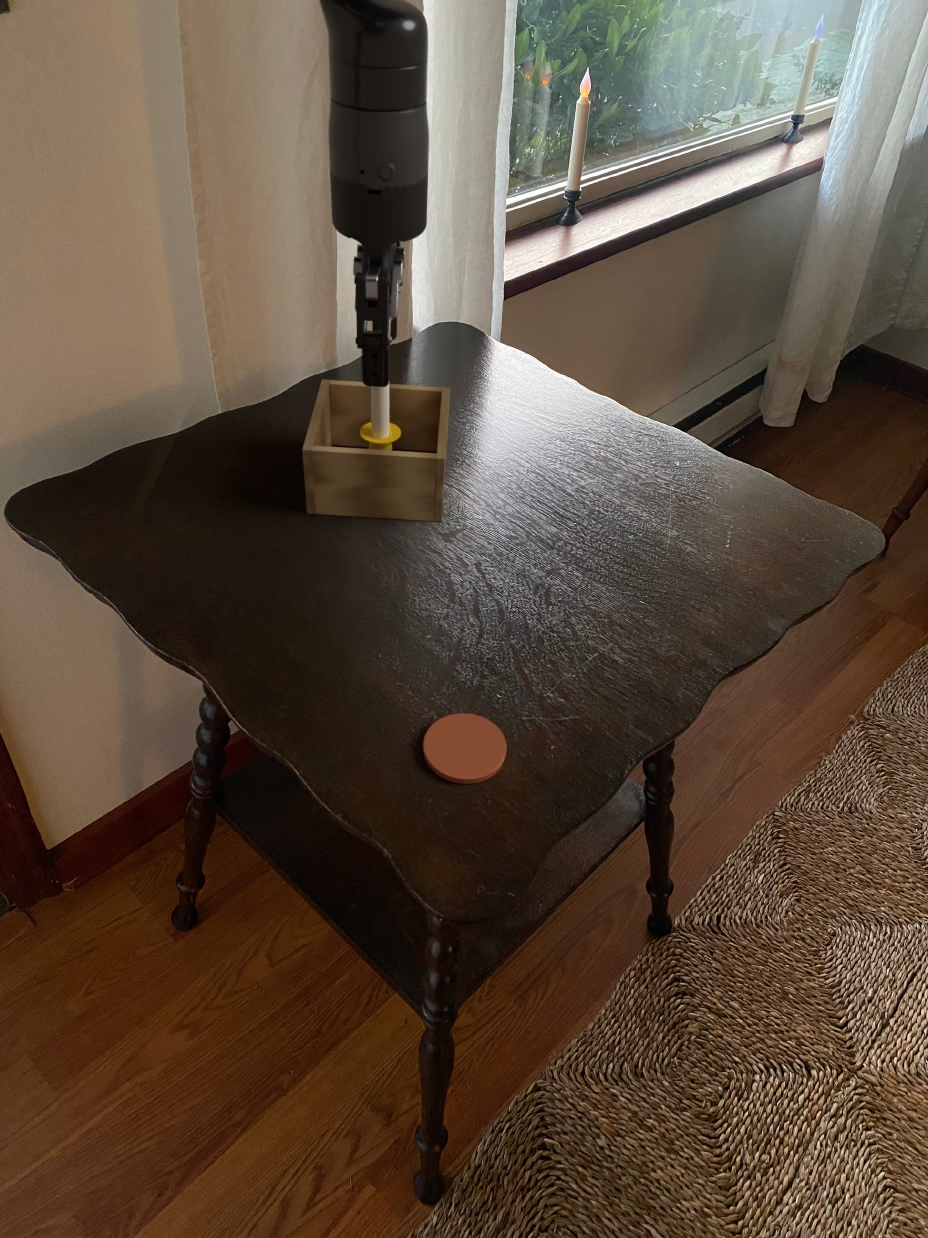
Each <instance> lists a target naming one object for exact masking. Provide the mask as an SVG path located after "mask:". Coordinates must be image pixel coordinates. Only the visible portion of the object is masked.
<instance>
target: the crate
mask: <svg viewBox="0 0 928 1238" xmlns="http://www.w3.org/2000/svg"><path fill="white" fill-rule="evenodd" d="M450 397H451V387H445V386H444V387H442V386H429V385H428V386H427V385H413V384H397V383H389V422H390V423H393V424H395V425H396V426H398V427H399V428H400V430H401V435H400V437H399V438H398V439H397V440H396V441H394V442H391V444H392V451H389V450H373V449H369V443H370V442H368V441H366V440H364V439H363V438H362V437H361V435H360V429H361V427H363V426H364V425H365V424H367V423H370V422H371V386H366V385H365V384H364V383H363V381H355V380H354V381H351V380H338V379H337V380H336V379H321V381H320V386H319V388H318V391H317V395H316V399H315V403H314V406H313V411H312V413H311V416H310V421H309V425H308V428H307V432H306V435H305V438H304V442H303V446H302V449H301V451H302V452H301V453H302V463H303V465H302V466H303V477H304V479H303V480H304V493H305V504H306V514H308V515H323V516H324V515H325V516H339V517H340V516H341V517H357V518H371V519H372V518H373V519H388V520H389V519H391V520H405V521H420V522H421V521H423V522H437V523H442V522H443V511H444V499H445V498H444V497H445V496H444V495H445V482H446V467H447V454H448V453H447V452H448V451H447V450H448V435H449V434H448V433H449V416H450V415H449V414H450ZM339 446H340V447H339ZM342 446H343V447H342ZM344 446H345V447H344ZM355 447H357V448H355ZM402 450H403V451H402ZM405 450H406V451H405ZM418 451H420V452H418ZM421 451H422V452H421ZM433 452H434V453H433Z"/></svg>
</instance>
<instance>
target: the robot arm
mask: <svg viewBox="0 0 928 1238" xmlns="http://www.w3.org/2000/svg"><path fill="white" fill-rule="evenodd" d="M318 2H319V5H320V8H321V12H322V16H323V19H324V23H325V26H326V31H327V37H328V40H327V41H328V46H327V47H328V48H327V49H328V50H327V52H328V76H329V77H328V78H329V79H328V80H329V96H330V97H329V114H328V115H329V117H328V118H329V119H328V127H327V128H328V131H327V133H328V137H327V138H328V158H329V159H328V160H329V183H330V205H331V222H332V226H333V228H334V229H335V230H336V232H338V233H339V234H341V236H343V237H346V238H348V239H352V240H355V241H356V242H358V244H357V246H356V256H353V264H352V266H353V267H352V275H353V276H354V278H353V282H354V285H355V288H354V289H355V291H354V294H355V295H354V311H355V313H356V315H355V317H356V321H355V323H356V336H355V345H356V349H358V350H361V367H362V369H361V370H362V371H361V372H362V382H363V383H364V384H365V385H366V386H373V387H386V386H387V385H388V383H389V384H390V347H391V344H392V343H393V341H395V340H396V338H397V336H398V313H399V297H400V296H399V295H400V294H401V287H402V286H403V285H404V272H405V266H406V255H407V253H406V247H404V246H402V242H403V243H405V242H409V241H411V240H414V239H416V238H418V237H419V236H421V235H422V234H423V233H424V232H425V230H426V229H427V225H428V224H427V223H428V193H429V190H428V189H429V158H430V130H429V129H430V128H429V127H430V126H429V119H428V102H427V99H428V68H429V67H428V64H429V63H428V61H429V59H428V58H429V31H428V30H429V29H428V22H427V19H426V17H425V15H424V13H423V11H421V10H420V8H418V7H417V6H415V5H414V4H412V3H411V2H410V1H407V0H318ZM368 322H372V323H371V325H372V326H371V328H372V329H371V330H368ZM379 330H380V331H379Z"/></svg>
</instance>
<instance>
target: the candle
mask: <svg viewBox="0 0 928 1238" xmlns="http://www.w3.org/2000/svg"><path fill="white" fill-rule="evenodd" d="M379 331H380V330H379ZM389 384H390V382H389V383H388V385H387V386H386V387H373V386H371V422H370V423H367V424H365V425H364V426H363V427H361V429H360V435H361V437H362V438H363V439H364V440H366V441H368V442H370V443H369V447H368V449H373V450H389V451H393V449H392V444H391V442H394V441H396V440H397V439H398V438H399V437H400V435H401V430H400V428H399V427H398V426H396V425H395V424H393V423H390V422H389Z"/></svg>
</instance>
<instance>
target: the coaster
mask: <svg viewBox="0 0 928 1238" xmlns="http://www.w3.org/2000/svg"><path fill="white" fill-rule="evenodd" d="M507 745H508V744H507V741H506V738H505V735H504V733H503V732H502V730H501V729H500V728H499V727H498V726H497V725H496V724H495V723H494V722H492V721H491V720H489V719H487V718H485V717H483V716H481V715H478V714H473V713H467V712H466V713H465V712H463V713H462V712H461V713H453V714H448V715H446V716H443V717H440V718H439V719H438V720H436V721H434V722H433V723H432V724H431V725H430V726H429V727H428V729H427V730H426V732H425V734H424V737H423V741H422V755H423V757H424V761H425V763H426V765H427V767H429V769H430V770H431V771H432V772H433V773H434V774H435V775H436V776H438V777H439V778H442V779H443V780H445V781H448V782H450V783H455V784H459V785H461V784H462V785H472V784H473V785H474V784H478V783H482V782H484V781H486V780H489V779H491V778H492V777H493V776H495V775H496V774H497V773H498V772H499V771H500V770H501V769H502V767H503V766H504V764H505V762H506V761H505V760H506V757H507V751H508V750H507V749H508V747H507Z"/></svg>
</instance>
